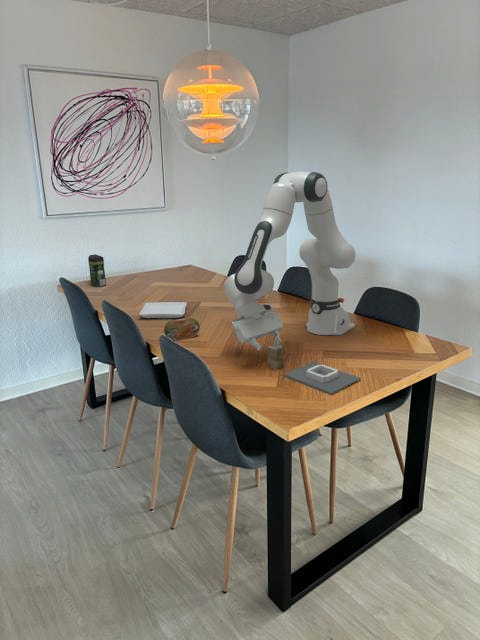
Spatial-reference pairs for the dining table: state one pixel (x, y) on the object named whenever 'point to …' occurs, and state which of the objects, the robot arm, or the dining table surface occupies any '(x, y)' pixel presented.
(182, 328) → the tin
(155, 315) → the salad plate
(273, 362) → the plug
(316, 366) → the end holder
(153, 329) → the dining table surface
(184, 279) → the dining table surface
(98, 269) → the coffee jar
